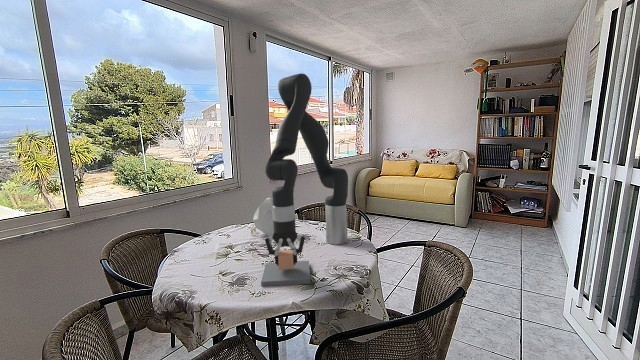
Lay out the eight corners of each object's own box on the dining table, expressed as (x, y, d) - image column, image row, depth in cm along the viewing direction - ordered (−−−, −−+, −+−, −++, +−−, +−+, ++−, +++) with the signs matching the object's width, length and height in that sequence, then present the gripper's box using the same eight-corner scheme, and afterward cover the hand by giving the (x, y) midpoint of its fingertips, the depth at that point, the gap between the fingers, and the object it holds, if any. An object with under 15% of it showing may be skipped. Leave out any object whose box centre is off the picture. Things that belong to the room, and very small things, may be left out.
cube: (293, 262, 107) (293, 249, 106) (293, 269, 102) (292, 255, 101) (279, 263, 107) (279, 250, 106) (278, 269, 102) (278, 256, 101)
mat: (309, 264, 112) (308, 260, 112) (310, 283, 99) (310, 279, 98) (266, 266, 111) (266, 262, 111) (261, 286, 98) (261, 281, 97)
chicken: (253, 244, 144) (291, 234, 139) (239, 207, 142) (276, 196, 137) (260, 239, 151) (295, 229, 146) (246, 203, 149) (282, 192, 144)
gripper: (305, 213, 106) (306, 258, 109) (264, 215, 105) (267, 260, 108) (305, 219, 98) (307, 268, 101) (261, 221, 97) (264, 270, 100)
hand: (286, 264), depth 104 cm, fingers closed on cube, 5 cm apart
